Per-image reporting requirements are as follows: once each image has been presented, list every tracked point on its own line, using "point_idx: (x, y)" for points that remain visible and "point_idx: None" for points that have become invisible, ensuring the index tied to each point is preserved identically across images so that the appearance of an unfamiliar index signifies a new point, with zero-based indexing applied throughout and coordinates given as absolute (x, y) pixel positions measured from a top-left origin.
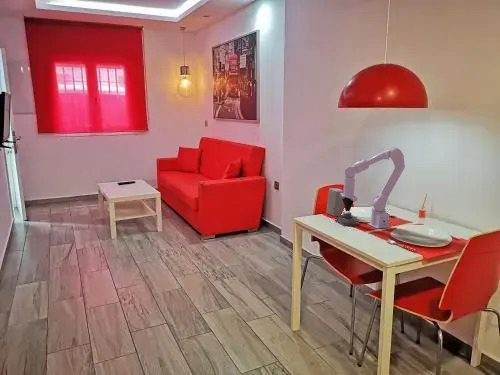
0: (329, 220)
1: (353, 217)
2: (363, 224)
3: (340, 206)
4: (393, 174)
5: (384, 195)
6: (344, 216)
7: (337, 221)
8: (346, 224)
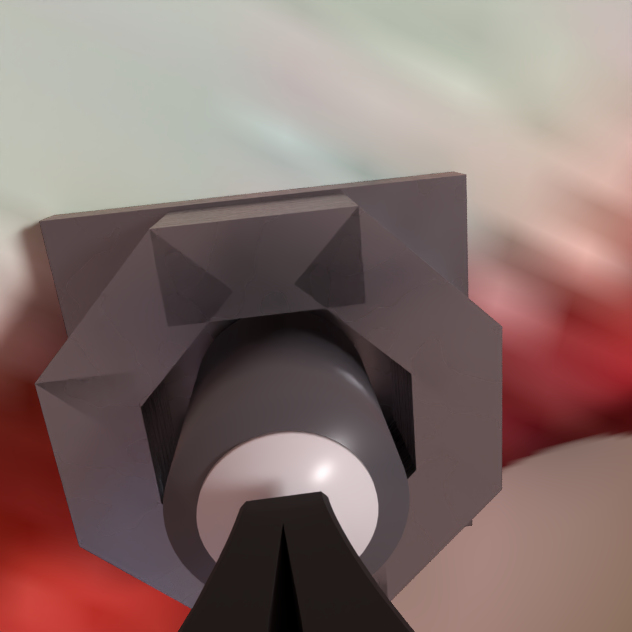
0: (545, 76)
1: None
2: (152, 617)
3: None
4: None
5: None
6: (244, 364)
7: (331, 187)
8: (59, 289)
